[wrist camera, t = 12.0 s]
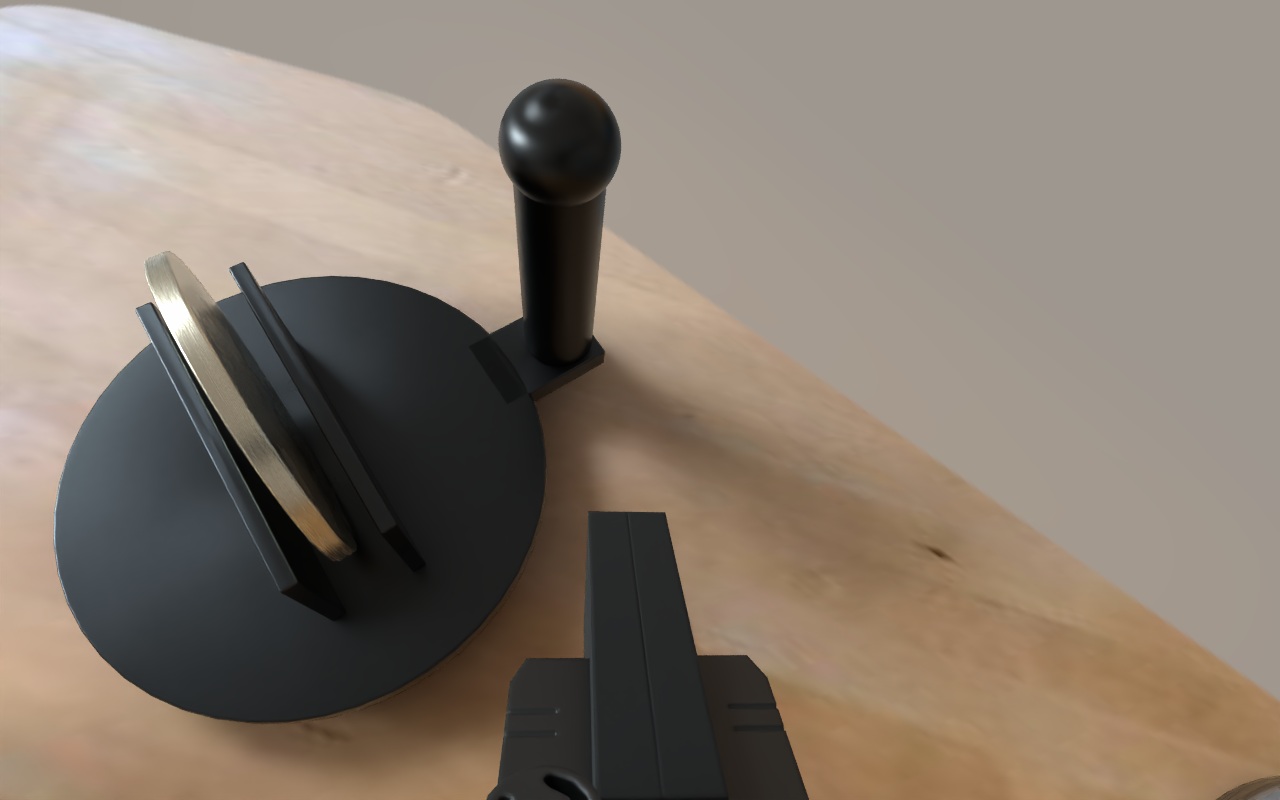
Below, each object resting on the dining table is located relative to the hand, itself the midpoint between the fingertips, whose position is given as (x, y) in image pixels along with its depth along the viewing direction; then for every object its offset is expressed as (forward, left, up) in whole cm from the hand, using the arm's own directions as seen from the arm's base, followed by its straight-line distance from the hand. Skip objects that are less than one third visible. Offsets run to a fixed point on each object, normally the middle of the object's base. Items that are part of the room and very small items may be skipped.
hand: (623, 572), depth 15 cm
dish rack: (+9, -5, -11) cm, 16 cm away
